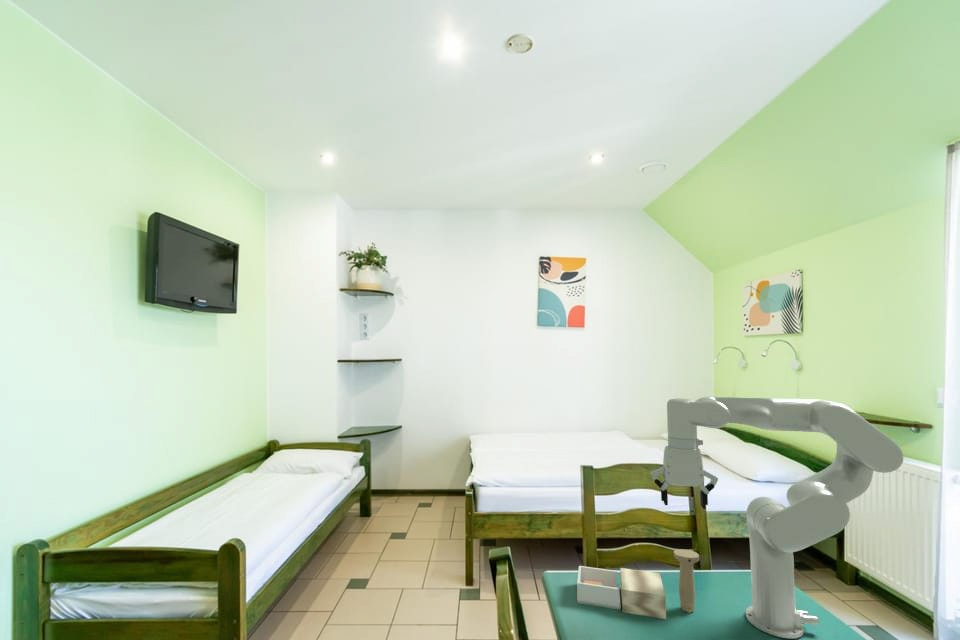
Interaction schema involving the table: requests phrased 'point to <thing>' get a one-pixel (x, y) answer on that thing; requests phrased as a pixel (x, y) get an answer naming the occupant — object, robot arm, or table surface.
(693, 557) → the handle
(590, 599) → the box
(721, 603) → the table surface
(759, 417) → the robot arm
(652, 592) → the beige textured block
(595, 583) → the tile
